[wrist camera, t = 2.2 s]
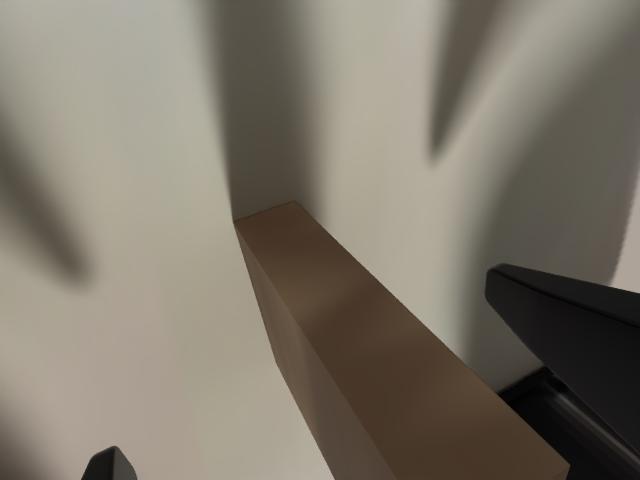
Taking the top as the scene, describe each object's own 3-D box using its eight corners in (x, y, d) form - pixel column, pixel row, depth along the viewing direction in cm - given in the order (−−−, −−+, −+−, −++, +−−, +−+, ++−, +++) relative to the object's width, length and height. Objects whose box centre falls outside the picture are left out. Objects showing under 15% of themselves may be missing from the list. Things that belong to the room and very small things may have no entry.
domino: (294, 200, 10) (569, 464, 4) (323, 341, 13) (516, 623, 7) (233, 222, 10) (445, 554, 4) (276, 363, 12) (439, 687, 6)
